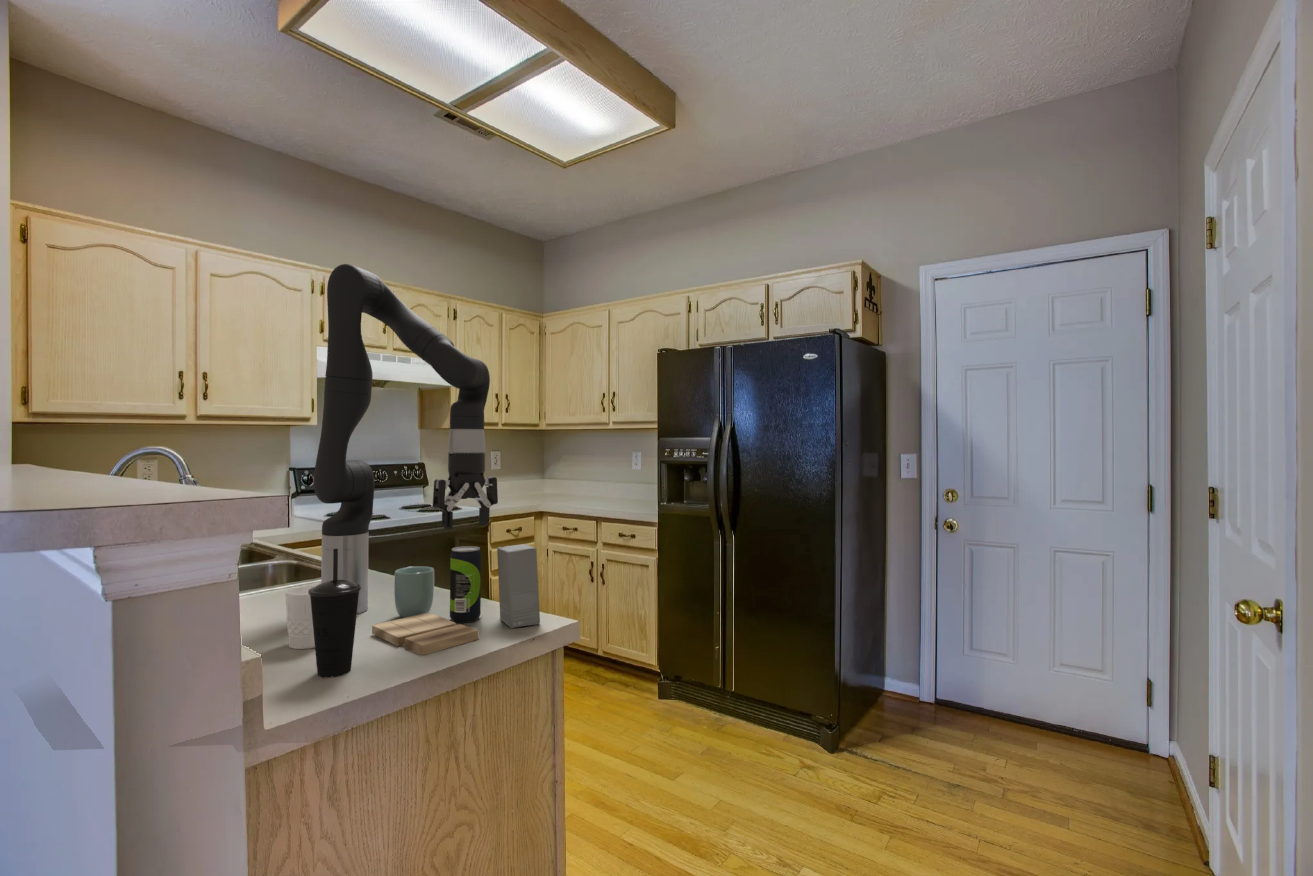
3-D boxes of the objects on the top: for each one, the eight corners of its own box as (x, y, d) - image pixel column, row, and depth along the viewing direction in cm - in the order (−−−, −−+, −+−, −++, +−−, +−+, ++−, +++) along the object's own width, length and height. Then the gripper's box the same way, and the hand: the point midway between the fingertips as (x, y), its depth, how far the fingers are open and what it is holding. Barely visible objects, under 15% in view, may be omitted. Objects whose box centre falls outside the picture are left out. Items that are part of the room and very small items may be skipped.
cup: (419, 622, 127) (420, 574, 127) (386, 620, 129) (387, 572, 129) (440, 612, 135) (440, 567, 135) (408, 610, 137) (409, 565, 137)
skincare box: (540, 625, 126) (541, 548, 127) (506, 630, 123) (507, 550, 123) (528, 614, 134) (528, 542, 134) (495, 619, 130) (496, 544, 131)
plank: (371, 633, 119) (372, 624, 119) (429, 620, 128) (429, 612, 128) (397, 646, 112) (398, 637, 112) (456, 631, 122) (456, 622, 122)
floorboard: (401, 646, 113) (401, 636, 113) (457, 631, 121) (457, 623, 121) (422, 655, 108) (422, 645, 108) (478, 639, 117) (478, 630, 117)
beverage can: (486, 619, 130) (487, 548, 131) (459, 625, 126) (460, 552, 126) (470, 613, 135) (470, 544, 135) (444, 619, 130) (444, 548, 130)
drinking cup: (320, 664, 103) (321, 545, 103) (367, 663, 104) (368, 544, 104) (297, 681, 96) (299, 553, 96) (348, 680, 96) (350, 552, 97)
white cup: (326, 634, 119) (326, 582, 119) (339, 643, 114) (340, 589, 114) (279, 643, 114) (280, 589, 114) (291, 653, 108) (292, 597, 108)
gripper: (484, 450, 138) (484, 522, 138) (426, 450, 127) (425, 529, 127) (505, 450, 134) (504, 525, 133) (446, 451, 123) (445, 532, 122)
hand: (466, 527), depth 130 cm, fingers open, 8 cm apart
